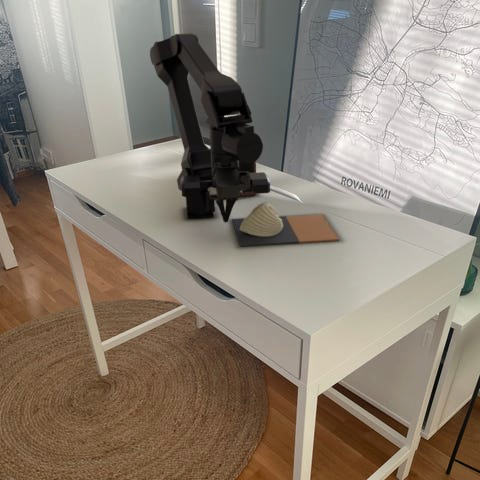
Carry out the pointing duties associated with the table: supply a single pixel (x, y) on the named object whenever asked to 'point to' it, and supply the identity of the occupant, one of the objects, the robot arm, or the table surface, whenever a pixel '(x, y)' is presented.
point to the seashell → (262, 221)
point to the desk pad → (291, 231)
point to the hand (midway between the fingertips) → (225, 221)
